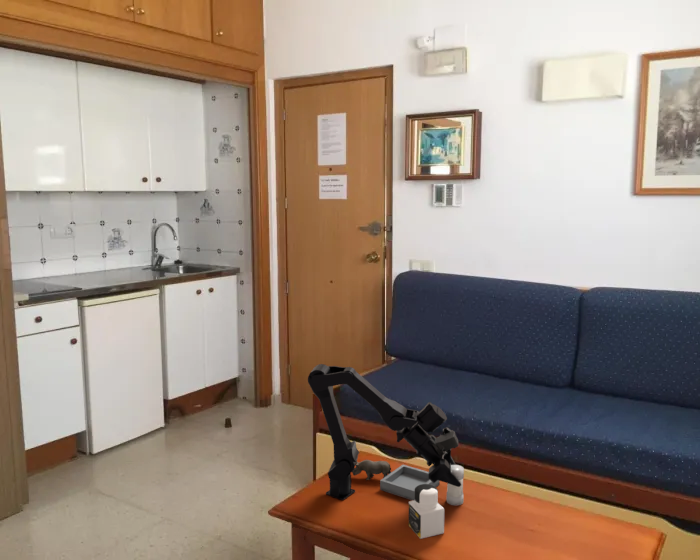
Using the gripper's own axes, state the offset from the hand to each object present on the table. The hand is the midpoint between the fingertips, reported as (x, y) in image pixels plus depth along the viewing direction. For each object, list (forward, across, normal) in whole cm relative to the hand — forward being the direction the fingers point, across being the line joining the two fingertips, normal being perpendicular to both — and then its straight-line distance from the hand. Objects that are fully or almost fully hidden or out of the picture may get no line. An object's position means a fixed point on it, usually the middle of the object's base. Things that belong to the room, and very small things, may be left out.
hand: (460, 480), depth 184 cm
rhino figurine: (-14, +11, +24) cm, 30 cm away
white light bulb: (+4, 0, +6) cm, 7 cm away
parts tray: (-6, +7, +15) cm, 18 cm away
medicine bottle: (-2, -16, +11) cm, 20 cm away
